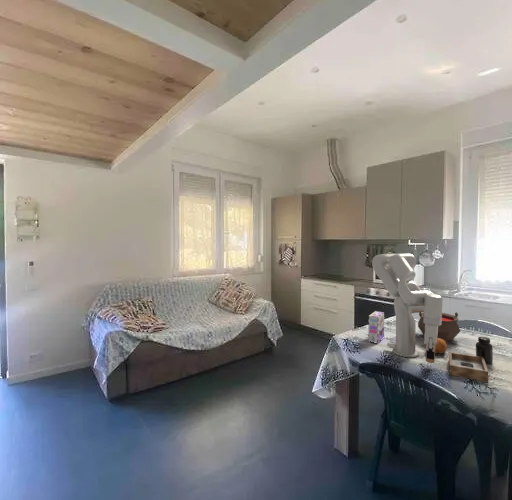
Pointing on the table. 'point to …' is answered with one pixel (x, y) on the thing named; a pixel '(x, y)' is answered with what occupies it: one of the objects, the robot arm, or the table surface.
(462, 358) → the wooden rectangular frame
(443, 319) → the brown cooking pot
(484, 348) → the supplement bottle
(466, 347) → the table surface
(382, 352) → the table surface
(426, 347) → the peg
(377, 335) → the candy box
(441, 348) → the potato
